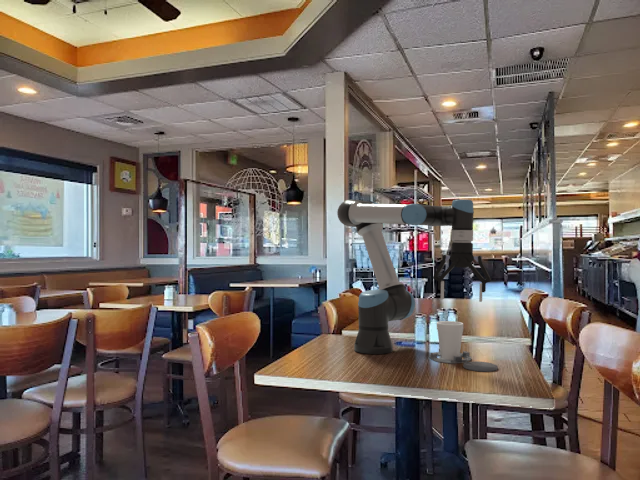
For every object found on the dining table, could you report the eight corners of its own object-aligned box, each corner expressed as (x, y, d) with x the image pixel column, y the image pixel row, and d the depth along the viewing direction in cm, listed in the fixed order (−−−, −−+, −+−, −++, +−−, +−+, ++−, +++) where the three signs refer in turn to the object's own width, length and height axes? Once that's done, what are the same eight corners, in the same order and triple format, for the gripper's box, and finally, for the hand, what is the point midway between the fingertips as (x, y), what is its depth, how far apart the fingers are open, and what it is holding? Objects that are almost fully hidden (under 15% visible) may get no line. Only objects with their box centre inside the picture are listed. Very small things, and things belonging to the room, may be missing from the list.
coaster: (458, 368, 163) (458, 366, 163) (469, 362, 172) (469, 359, 172) (492, 373, 157) (492, 370, 157) (501, 366, 166) (501, 364, 166)
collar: (424, 359, 176) (424, 353, 176) (439, 352, 187) (438, 347, 187) (462, 365, 168) (462, 358, 168) (474, 357, 179) (474, 351, 179)
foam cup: (464, 362, 172) (464, 325, 172) (437, 361, 174) (437, 324, 174) (462, 356, 181) (461, 321, 182) (436, 355, 183) (436, 320, 183)
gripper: (425, 241, 179) (424, 299, 179) (498, 242, 170) (496, 303, 170) (429, 241, 186) (428, 296, 186) (499, 242, 176) (498, 301, 177)
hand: (461, 300), depth 178 cm, fingers open, 13 cm apart
